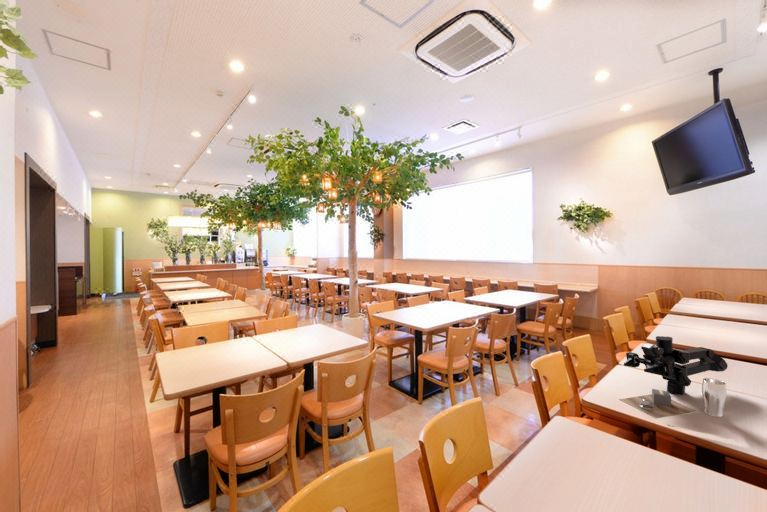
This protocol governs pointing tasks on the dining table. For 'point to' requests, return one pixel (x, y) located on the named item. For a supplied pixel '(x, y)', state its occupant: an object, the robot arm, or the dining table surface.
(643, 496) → the dining table surface
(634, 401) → the board
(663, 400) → the grey block
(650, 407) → the silver rounded piece
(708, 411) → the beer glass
